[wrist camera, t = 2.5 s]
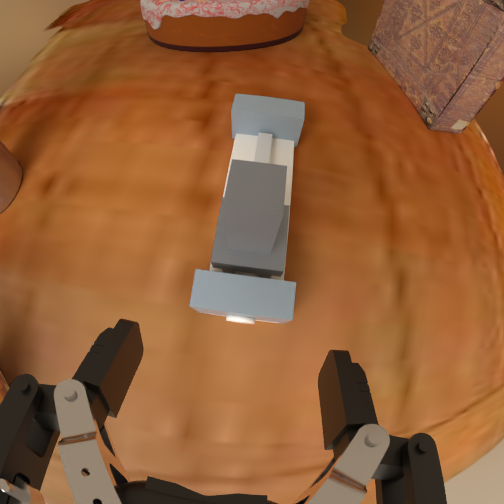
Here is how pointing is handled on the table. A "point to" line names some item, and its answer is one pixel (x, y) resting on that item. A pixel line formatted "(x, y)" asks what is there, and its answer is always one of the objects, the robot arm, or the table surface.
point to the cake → (222, 23)
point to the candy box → (3, 387)
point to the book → (443, 56)
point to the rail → (281, 153)
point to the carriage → (252, 220)
